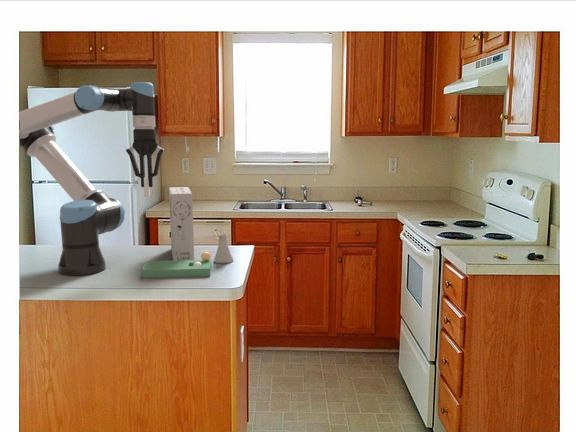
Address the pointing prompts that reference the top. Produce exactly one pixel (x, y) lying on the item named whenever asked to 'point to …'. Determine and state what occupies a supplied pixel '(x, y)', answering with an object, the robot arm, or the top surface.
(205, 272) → the green
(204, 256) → the orange ball
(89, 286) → the top surface
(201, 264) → the ball
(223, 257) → the flask
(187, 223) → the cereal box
